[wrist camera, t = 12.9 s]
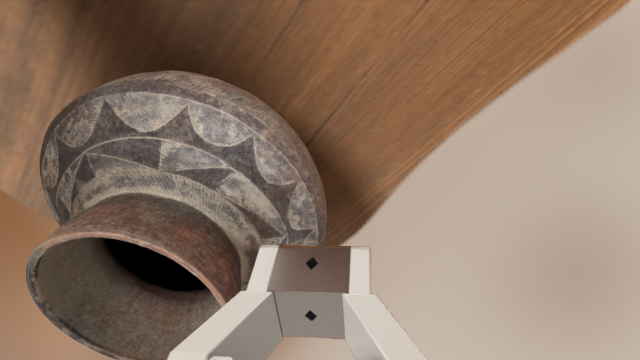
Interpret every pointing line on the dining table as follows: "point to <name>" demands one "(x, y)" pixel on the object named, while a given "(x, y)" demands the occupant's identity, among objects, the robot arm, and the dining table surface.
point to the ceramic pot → (165, 208)
